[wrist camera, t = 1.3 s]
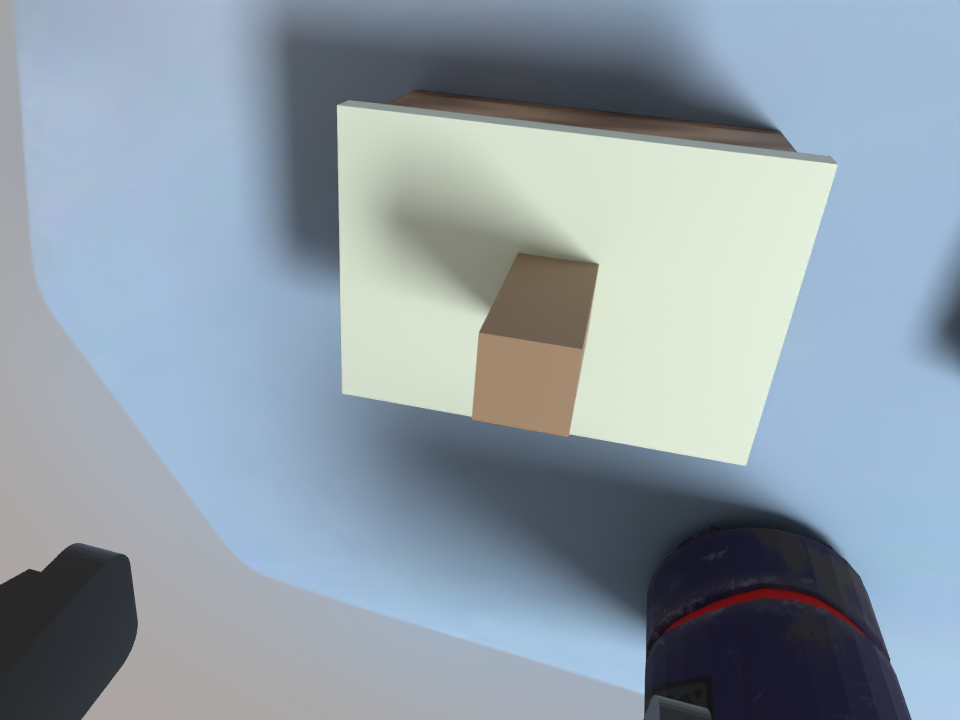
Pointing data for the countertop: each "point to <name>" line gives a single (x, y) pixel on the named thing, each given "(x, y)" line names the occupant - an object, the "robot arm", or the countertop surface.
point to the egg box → (596, 119)
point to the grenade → (766, 631)
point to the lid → (570, 274)
